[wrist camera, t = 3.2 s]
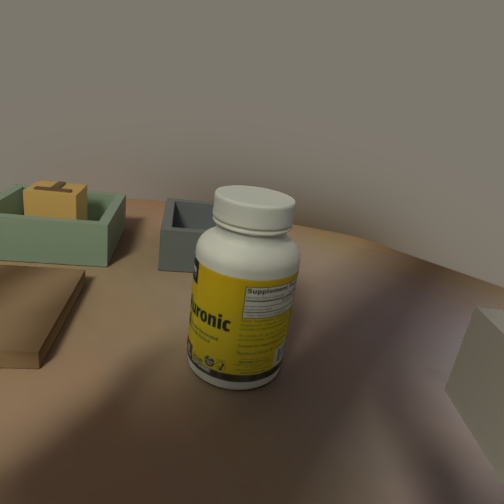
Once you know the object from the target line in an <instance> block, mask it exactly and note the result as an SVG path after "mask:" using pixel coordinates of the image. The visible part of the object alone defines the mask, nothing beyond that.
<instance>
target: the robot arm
mask: <svg viewBox="0 0 504 504" xmlns="http://www.w3.org/2000/svg"><path fill="white" fill-rule="evenodd" d="M445 391H446V393H447V394H448V396H449V398H450V399H451V401H452V402H453V404H454V406H455V407H456V409H457V411H458V412H459V414H460V415H461V417H462V419H463V420H464V422H465V423H466V425H467V427H468V428H469V430H470V432H471V433H472V435H473V436H474V438H475V440H476V441H477V443H478V445H479V446H480V448H481V449H482V451H483V453H484V454H485V456H486V457H487V459H488V461H489V462H490V464H491V466H492V467H493V469H494V470H495V472H496V474H497V475H498V477H499V479H500V480H501V482H502V483H503V485H504V310H498V309H491V308H484V307H478V306H475V309H474V312H473V315H472V317H471V320H470V323H469V325H468V328H467V331H466V333H465V336H464V339H463V341H462V344H461V347H460V349H459V352H458V355H457V358H456V360H455V363H454V366H453V368H452V371H451V374H450V376H449V379H448V382H447V384H446V387H445Z"/></svg>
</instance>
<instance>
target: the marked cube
mask: <svg viewBox="0 0 504 504" xmlns="http://www.w3.org/2000/svg"><path fill="white" fill-rule="evenodd" d="M23 204H24V215H29V216H41V217H53V218H65V219H77V220H87V185H83V184H73V183H66V182H52V181H41V180H39V181H37V182H36V183H34V184H33V185H31V186H29V187H28V188H26V189H25V190H23Z"/></svg>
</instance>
